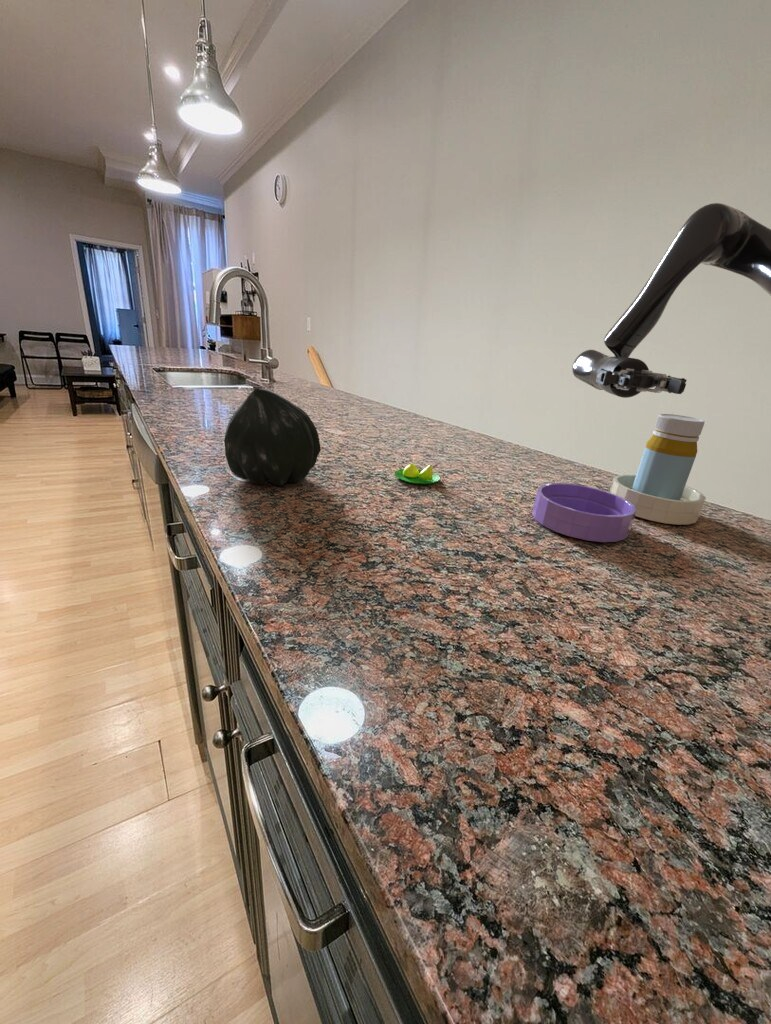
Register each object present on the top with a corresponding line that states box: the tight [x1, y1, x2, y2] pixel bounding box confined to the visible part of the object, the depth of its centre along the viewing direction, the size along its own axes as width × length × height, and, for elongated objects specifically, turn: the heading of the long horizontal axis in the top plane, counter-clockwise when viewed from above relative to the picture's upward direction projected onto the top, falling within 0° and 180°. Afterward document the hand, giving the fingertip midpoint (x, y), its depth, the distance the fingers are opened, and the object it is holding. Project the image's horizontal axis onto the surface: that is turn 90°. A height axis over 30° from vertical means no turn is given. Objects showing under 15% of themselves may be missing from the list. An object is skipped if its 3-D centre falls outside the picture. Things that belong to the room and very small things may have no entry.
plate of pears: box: [393, 462, 441, 486], centre depth 78 cm, size 8×8×3 cm
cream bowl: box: [608, 474, 707, 526], centre depth 73 cm, size 13×13×4 cm
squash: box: [223, 387, 322, 486], centre depth 70 cm, size 14×15×15 cm
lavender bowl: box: [531, 482, 636, 543], centre depth 65 cm, size 13×13×4 cm
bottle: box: [632, 413, 705, 501], centre depth 71 cm, size 7×7×15 cm
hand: (656, 385), depth 77 cm, fingers open, 8 cm apart
